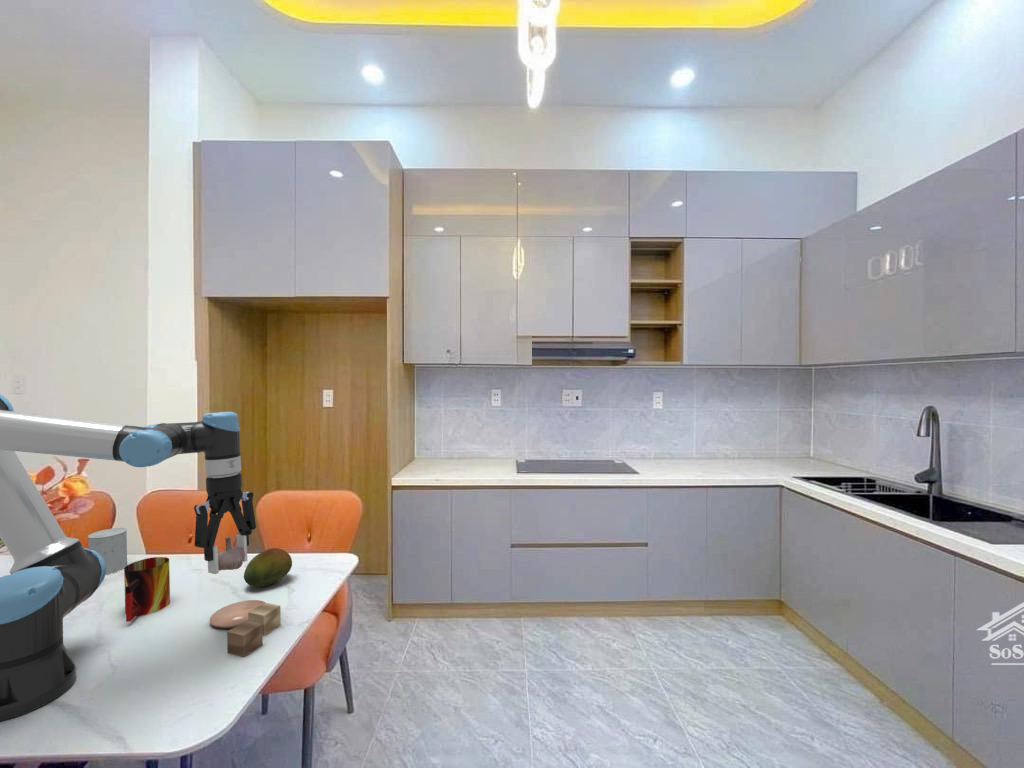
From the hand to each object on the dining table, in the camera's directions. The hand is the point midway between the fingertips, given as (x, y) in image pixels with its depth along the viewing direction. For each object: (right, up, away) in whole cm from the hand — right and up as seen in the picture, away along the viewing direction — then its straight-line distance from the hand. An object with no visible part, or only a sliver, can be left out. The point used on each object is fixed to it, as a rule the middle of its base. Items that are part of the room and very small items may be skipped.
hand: (228, 566), depth 113 cm
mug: (-28, -16, +10) cm, 34 cm away
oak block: (+9, -16, 0) cm, 18 cm away
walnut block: (+9, -16, -8) cm, 20 cm away
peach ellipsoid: (-1, -16, +6) cm, 17 cm away
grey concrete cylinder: (-62, -16, +36) cm, 74 cm away
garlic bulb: (0, -1, 0) cm, 1 cm away
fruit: (-4, -16, +25) cm, 30 cm away
